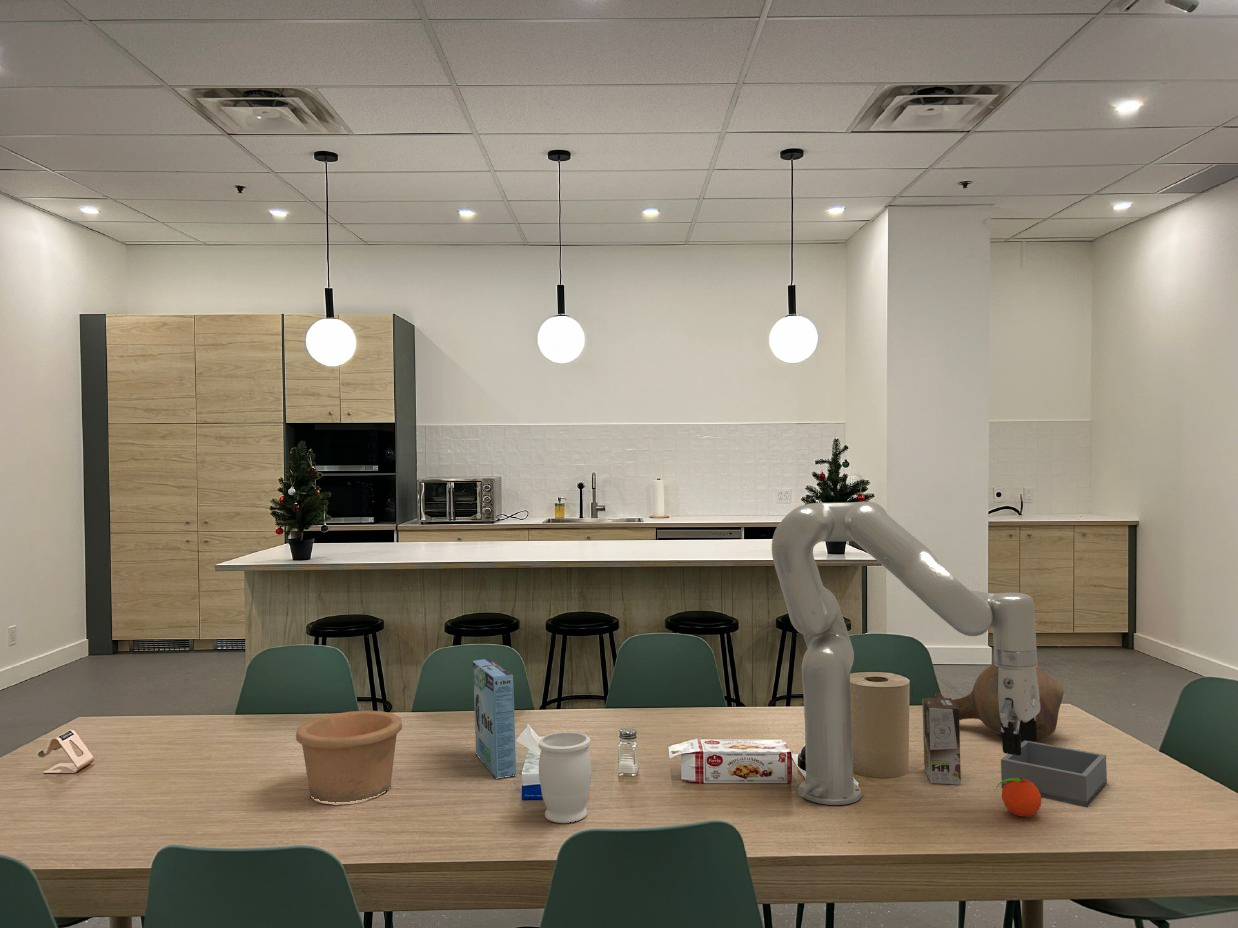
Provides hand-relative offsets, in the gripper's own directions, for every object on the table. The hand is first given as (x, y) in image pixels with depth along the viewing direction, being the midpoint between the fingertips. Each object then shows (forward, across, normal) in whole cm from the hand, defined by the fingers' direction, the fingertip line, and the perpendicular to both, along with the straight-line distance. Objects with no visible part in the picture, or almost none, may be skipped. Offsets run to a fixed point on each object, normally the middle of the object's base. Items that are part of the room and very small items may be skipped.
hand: (1020, 747), depth 163 cm
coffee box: (+13, +11, +20) cm, 26 cm away
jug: (+13, +48, +20) cm, 54 cm away
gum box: (+10, -45, +103) cm, 113 cm away
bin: (+13, +20, 0) cm, 24 cm away
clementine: (+13, 0, +1) cm, 13 cm away
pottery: (+10, -75, +115) cm, 138 cm away
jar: (+11, -55, +69) cm, 89 cm away
